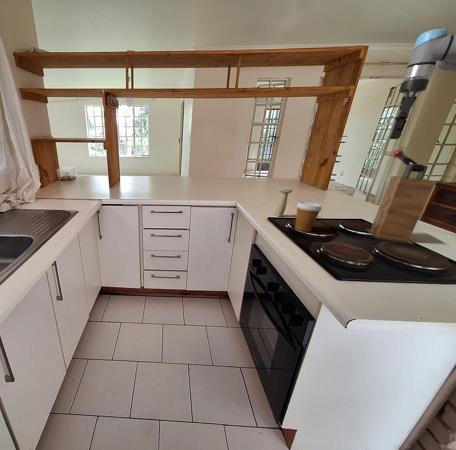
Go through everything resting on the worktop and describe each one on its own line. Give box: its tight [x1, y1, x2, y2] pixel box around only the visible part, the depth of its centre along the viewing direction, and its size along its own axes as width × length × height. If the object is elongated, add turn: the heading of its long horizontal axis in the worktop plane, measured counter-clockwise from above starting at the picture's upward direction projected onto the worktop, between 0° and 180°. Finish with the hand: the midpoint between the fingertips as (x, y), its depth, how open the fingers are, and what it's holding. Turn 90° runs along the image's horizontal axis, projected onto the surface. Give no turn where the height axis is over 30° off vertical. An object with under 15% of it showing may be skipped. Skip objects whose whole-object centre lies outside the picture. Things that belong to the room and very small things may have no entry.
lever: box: [391, 149, 424, 173], centre depth 98 cm, size 22×4×4 cm, turn 156°
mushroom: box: [275, 187, 293, 218], centre depth 124 cm, size 5×6×15 cm
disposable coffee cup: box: [294, 201, 322, 233], centre depth 106 cm, size 10×10×12 cm
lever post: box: [365, 165, 436, 246], centre depth 96 cm, size 12×12×31 cm
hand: (394, 138), depth 98 cm, fingers open, 13 cm apart
